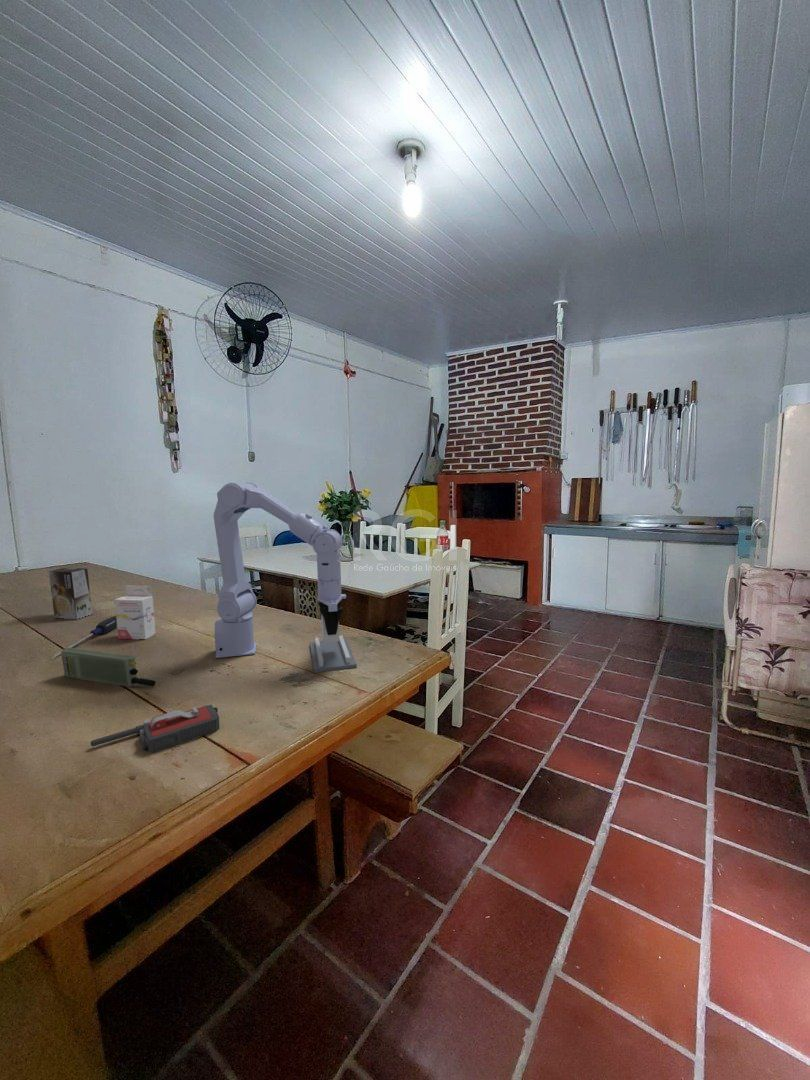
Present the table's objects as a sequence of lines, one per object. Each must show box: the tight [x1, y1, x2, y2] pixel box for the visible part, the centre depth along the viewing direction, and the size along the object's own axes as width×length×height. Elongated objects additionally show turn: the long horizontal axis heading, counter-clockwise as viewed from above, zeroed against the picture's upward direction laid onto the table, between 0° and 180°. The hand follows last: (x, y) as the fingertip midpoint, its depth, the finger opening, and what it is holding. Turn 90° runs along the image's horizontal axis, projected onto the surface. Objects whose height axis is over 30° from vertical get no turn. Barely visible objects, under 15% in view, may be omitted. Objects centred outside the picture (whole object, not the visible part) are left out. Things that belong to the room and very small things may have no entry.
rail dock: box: [309, 634, 358, 673], centre depth 114 cm, size 10×18×2 cm, turn 15°
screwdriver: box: [50, 615, 117, 661], centre depth 126 cm, size 26×4×4 cm, turn 179°
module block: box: [320, 613, 340, 642], centre depth 113 cm, size 4×4×6 cm
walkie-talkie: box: [90, 704, 220, 753], centre depth 78 cm, size 9×4×20 cm
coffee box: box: [48, 567, 93, 620], centre depth 148 cm, size 9×6×16 cm
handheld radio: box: [60, 646, 156, 688], centre depth 100 cm, size 7×3×25 cm
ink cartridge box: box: [114, 584, 157, 640], centre depth 128 cm, size 9×5×15 cm, turn 84°
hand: (331, 631), depth 113 cm, fingers closed on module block, 4 cm apart
